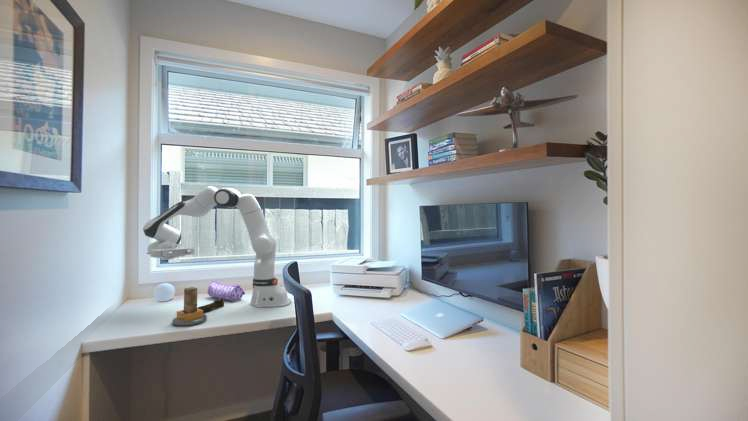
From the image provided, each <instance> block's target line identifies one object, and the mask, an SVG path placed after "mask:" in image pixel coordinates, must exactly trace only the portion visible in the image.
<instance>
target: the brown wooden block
mask: <svg viewBox="0 0 748 421" xmlns="http://www.w3.org/2000/svg"><path fill="white" fill-rule="evenodd" d="M183 289H184V290H183V294H184V295H183V310H184V313H191V312H195V311H197V308H198V287H194V286H190V287H185V288H183Z"/></svg>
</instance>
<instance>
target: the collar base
mask: <svg viewBox="0 0 748 421" xmlns="http://www.w3.org/2000/svg"><path fill="white" fill-rule="evenodd" d="M207 319H208V316H207V315H206V314H204V313H203V310H201V309H198V307H197V311H195V312H191V313H184V309H182V310H177V311H176V317H175V318H173V319H172V321H171V322H172V323H171V324H172V326H174V327H178V328H179V327H182V328H185V327H187V328H188V327H192V326H198V325H202V324H203V323H205V322H206V321H207Z"/></svg>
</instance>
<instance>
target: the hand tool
mask: <svg viewBox="0 0 748 421" xmlns="http://www.w3.org/2000/svg"><path fill="white" fill-rule="evenodd" d="M224 306H225V301H224V299H219V298H217V299H215V300H213V302H211V303H208V304H205V305H201V306H197V308H198V309H201V310H203V314H204V313H205V312H209V311H211V310H218V309H220V308H223V307H224Z"/></svg>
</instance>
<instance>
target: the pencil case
mask: <svg viewBox="0 0 748 421" xmlns="http://www.w3.org/2000/svg"><path fill="white" fill-rule="evenodd" d="M245 293H246V292H245V291H244V290H243V287H241V285H239V284H238V285H237V284H236V285H228V284H223V283H220V282H217V281H216V280H214V281H212V282H211V283H209V285H208V287H207V295H208V296H209V297H212V298H215V299H216V298H217V299H223V300H225V301H230V302H238V301H240V300H241V299H242V298H243V295H245Z"/></svg>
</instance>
